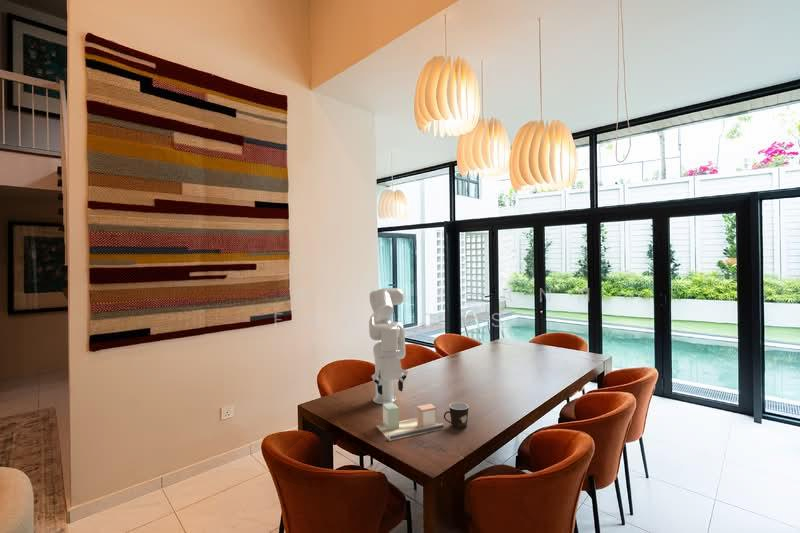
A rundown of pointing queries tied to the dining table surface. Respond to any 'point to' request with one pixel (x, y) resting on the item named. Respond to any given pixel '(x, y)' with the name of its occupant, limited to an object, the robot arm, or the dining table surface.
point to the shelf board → (408, 429)
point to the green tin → (390, 416)
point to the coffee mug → (458, 415)
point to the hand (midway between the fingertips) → (390, 392)
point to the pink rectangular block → (426, 415)
